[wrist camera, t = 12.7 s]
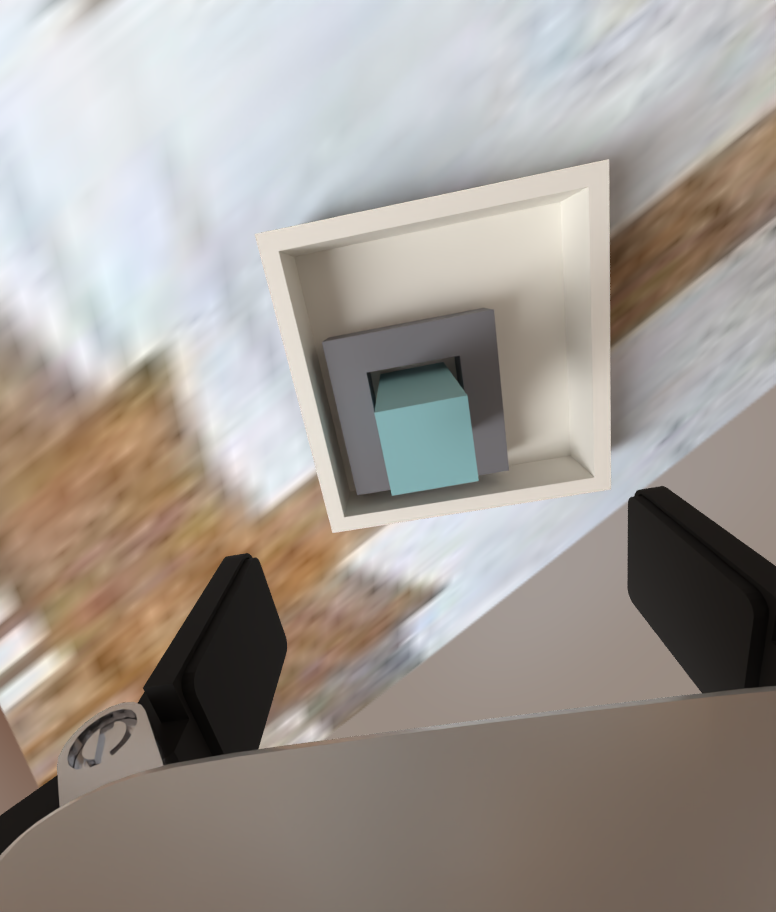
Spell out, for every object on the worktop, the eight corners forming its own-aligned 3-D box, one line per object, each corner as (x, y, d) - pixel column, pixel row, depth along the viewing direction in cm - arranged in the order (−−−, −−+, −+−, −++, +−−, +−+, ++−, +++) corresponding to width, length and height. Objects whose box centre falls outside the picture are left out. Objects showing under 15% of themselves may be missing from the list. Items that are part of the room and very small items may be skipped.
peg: (380, 373, 29) (374, 412, 20) (443, 361, 29) (467, 395, 19) (392, 433, 30) (391, 495, 21) (452, 422, 30) (478, 480, 21)
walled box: (276, 243, 27) (254, 234, 23) (573, 181, 25) (609, 159, 21) (340, 502, 33) (332, 533, 29) (581, 463, 32) (611, 489, 27)
